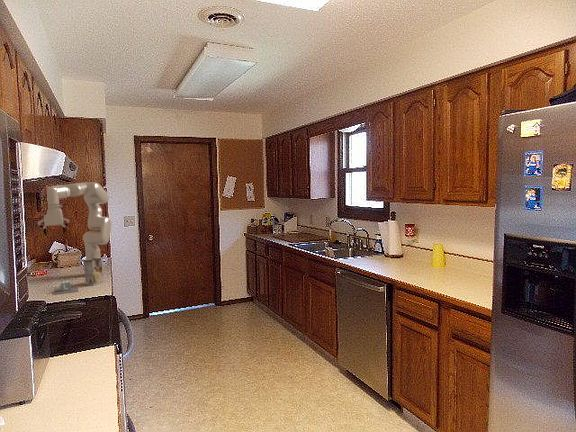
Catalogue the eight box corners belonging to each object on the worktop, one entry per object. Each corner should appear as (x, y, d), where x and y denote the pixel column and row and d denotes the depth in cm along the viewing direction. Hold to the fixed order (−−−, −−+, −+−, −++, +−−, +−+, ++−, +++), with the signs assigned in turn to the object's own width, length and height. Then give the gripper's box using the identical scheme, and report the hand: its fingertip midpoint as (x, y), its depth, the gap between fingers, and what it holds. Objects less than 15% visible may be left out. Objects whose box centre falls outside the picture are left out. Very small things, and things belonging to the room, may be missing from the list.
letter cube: (61, 289, 240) (61, 281, 240) (70, 288, 243) (70, 280, 242) (61, 291, 236) (60, 283, 235) (70, 290, 238) (70, 282, 238)
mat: (54, 289, 242) (54, 289, 242) (78, 286, 248) (78, 286, 248) (53, 294, 231) (53, 294, 231) (78, 291, 237) (78, 291, 237)
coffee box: (94, 281, 261) (93, 258, 259) (103, 281, 259) (101, 258, 258) (85, 285, 252) (83, 260, 250) (93, 285, 251) (92, 261, 249)
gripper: (68, 205, 246) (70, 232, 248) (36, 207, 238) (38, 235, 240) (68, 206, 240) (70, 233, 242) (35, 208, 231) (38, 236, 233)
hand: (55, 234), depth 241 cm, fingers open, 9 cm apart
